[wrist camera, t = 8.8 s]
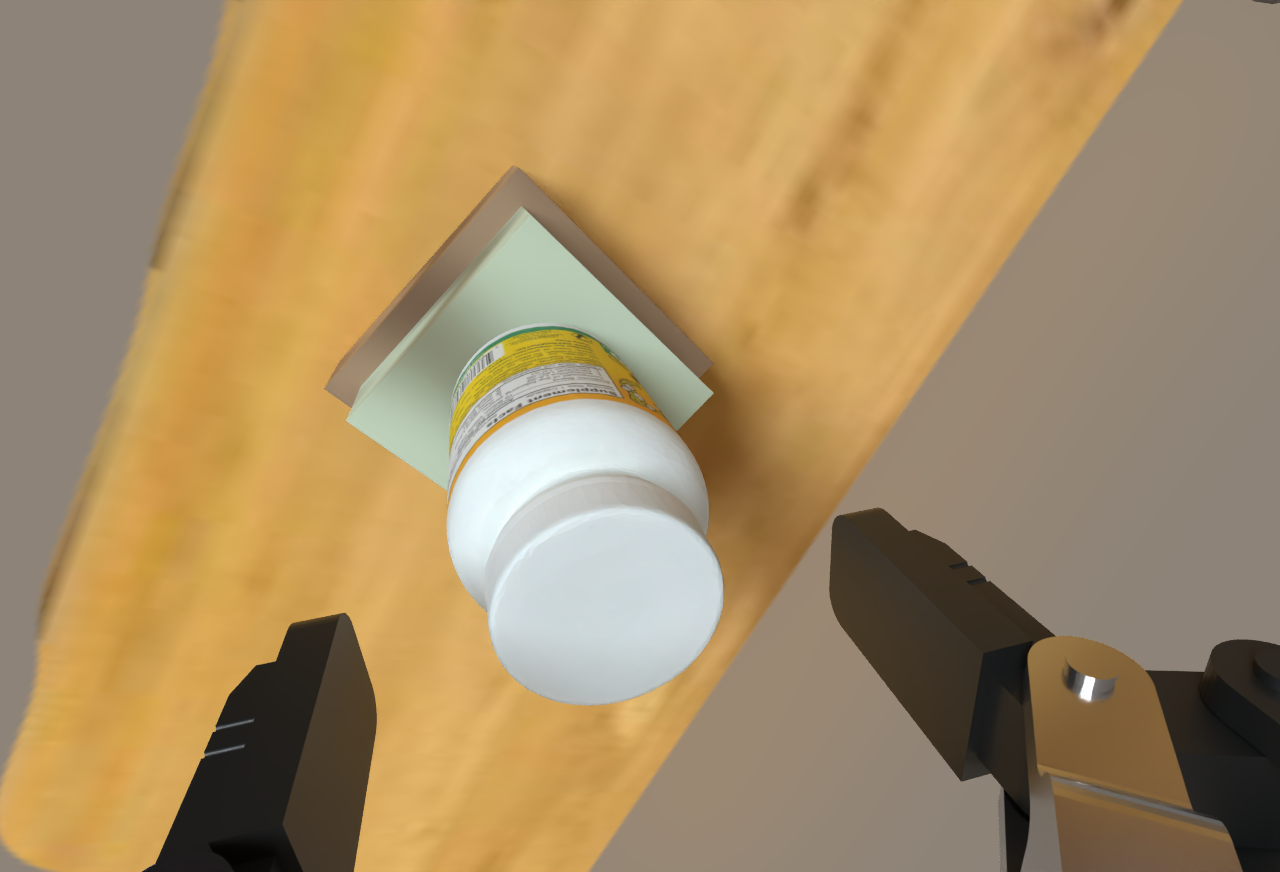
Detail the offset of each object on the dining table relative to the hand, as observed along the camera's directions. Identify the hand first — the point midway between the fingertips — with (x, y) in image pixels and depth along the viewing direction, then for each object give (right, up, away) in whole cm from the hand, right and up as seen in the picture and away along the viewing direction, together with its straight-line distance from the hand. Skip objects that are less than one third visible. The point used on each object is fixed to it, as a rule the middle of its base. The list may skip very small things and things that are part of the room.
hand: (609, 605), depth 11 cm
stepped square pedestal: (-4, +6, +14) cm, 16 cm away
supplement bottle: (-2, +4, +9) cm, 10 cm away
